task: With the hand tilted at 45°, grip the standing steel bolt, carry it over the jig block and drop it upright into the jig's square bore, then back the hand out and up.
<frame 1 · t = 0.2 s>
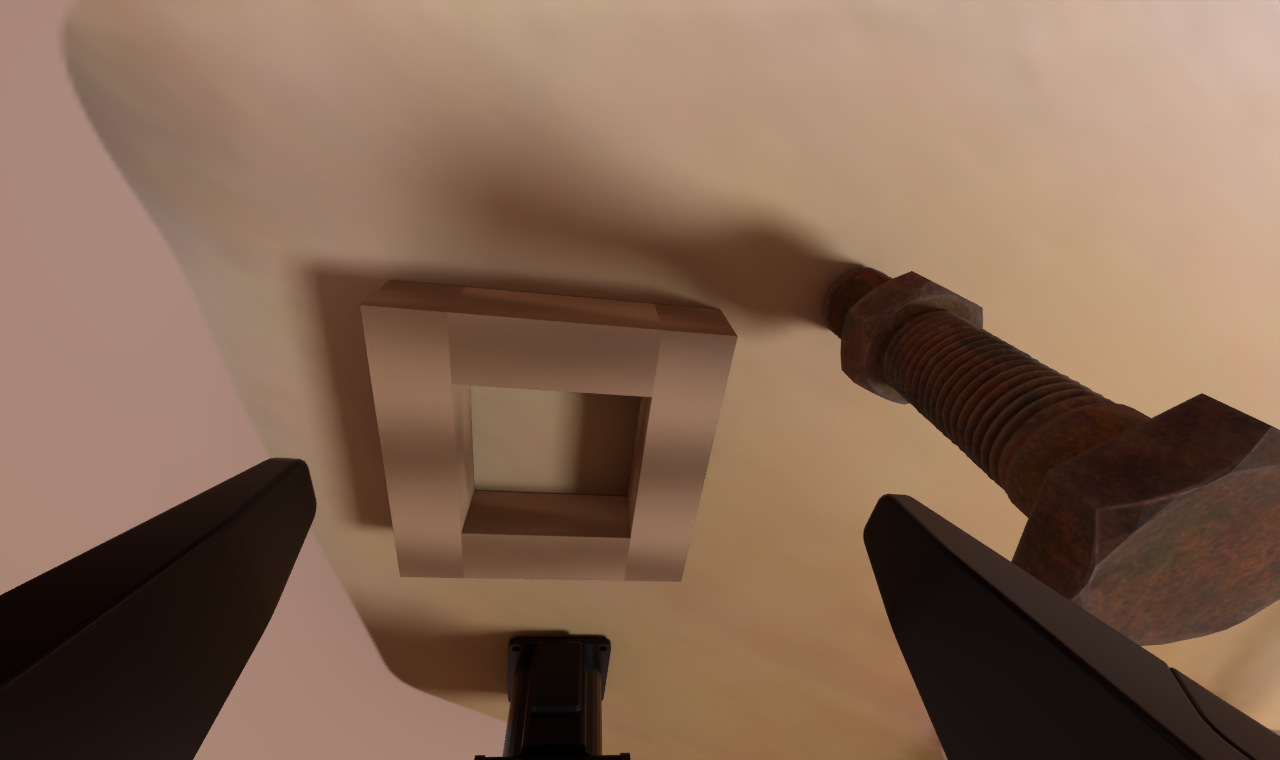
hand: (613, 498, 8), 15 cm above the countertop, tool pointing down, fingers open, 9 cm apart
bolt: (851, 298, 23), on the countertop
jig: (555, 431, 25), on the countertop
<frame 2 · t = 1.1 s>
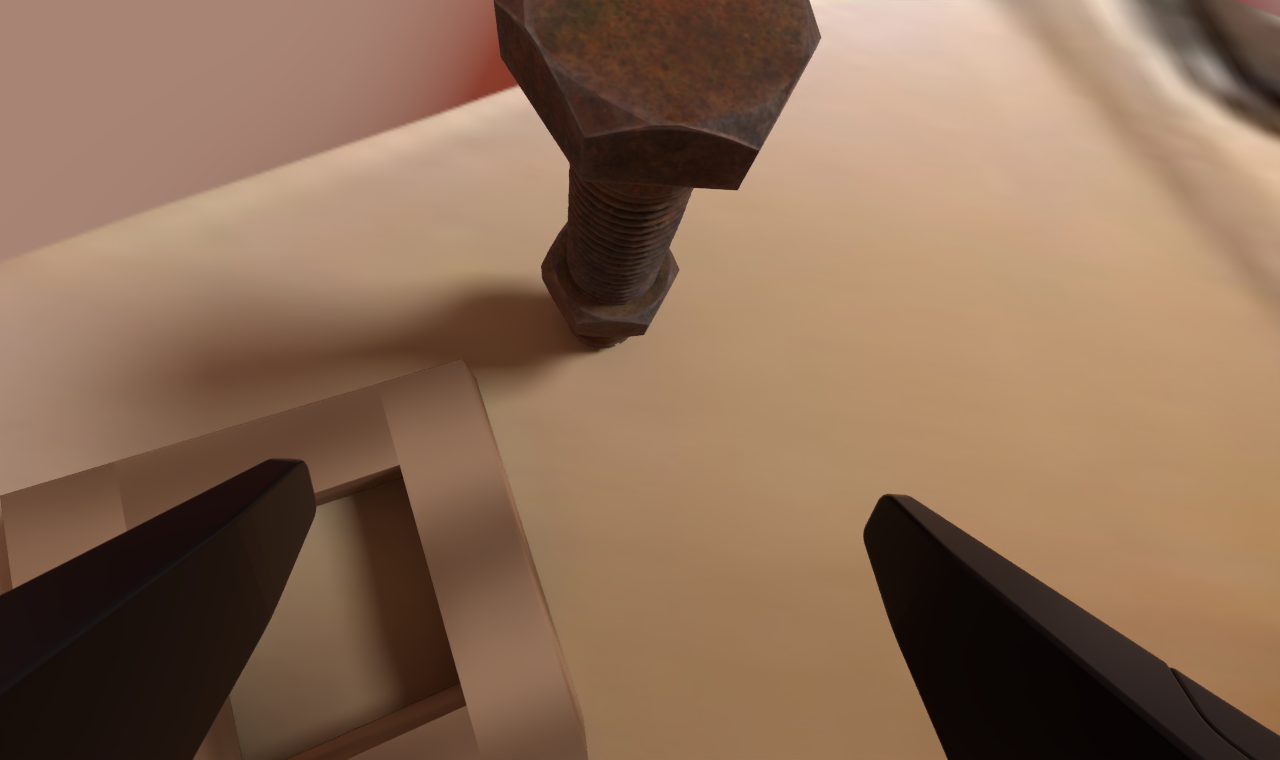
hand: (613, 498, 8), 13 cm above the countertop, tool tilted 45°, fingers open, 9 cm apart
bolt: (600, 319, 23), on the countertop
jig: (341, 610, 18), on the countertop
when the fingers open (8 cm above the countertop, at t = 8.8 s): bolt stays where it is, resting in jig.
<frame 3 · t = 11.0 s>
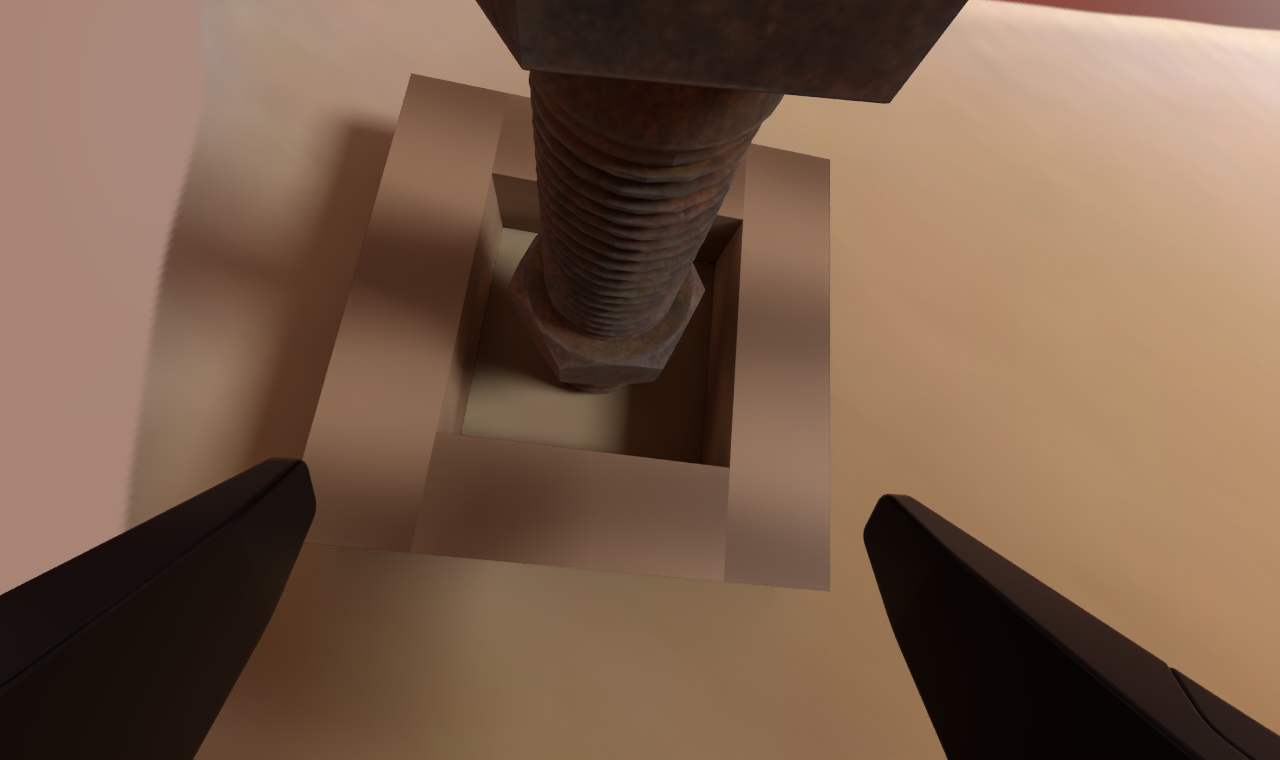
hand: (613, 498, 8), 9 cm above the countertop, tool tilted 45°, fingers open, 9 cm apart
bolt: (596, 354, 18), resting in jig
jig: (598, 346, 17), on the countertop
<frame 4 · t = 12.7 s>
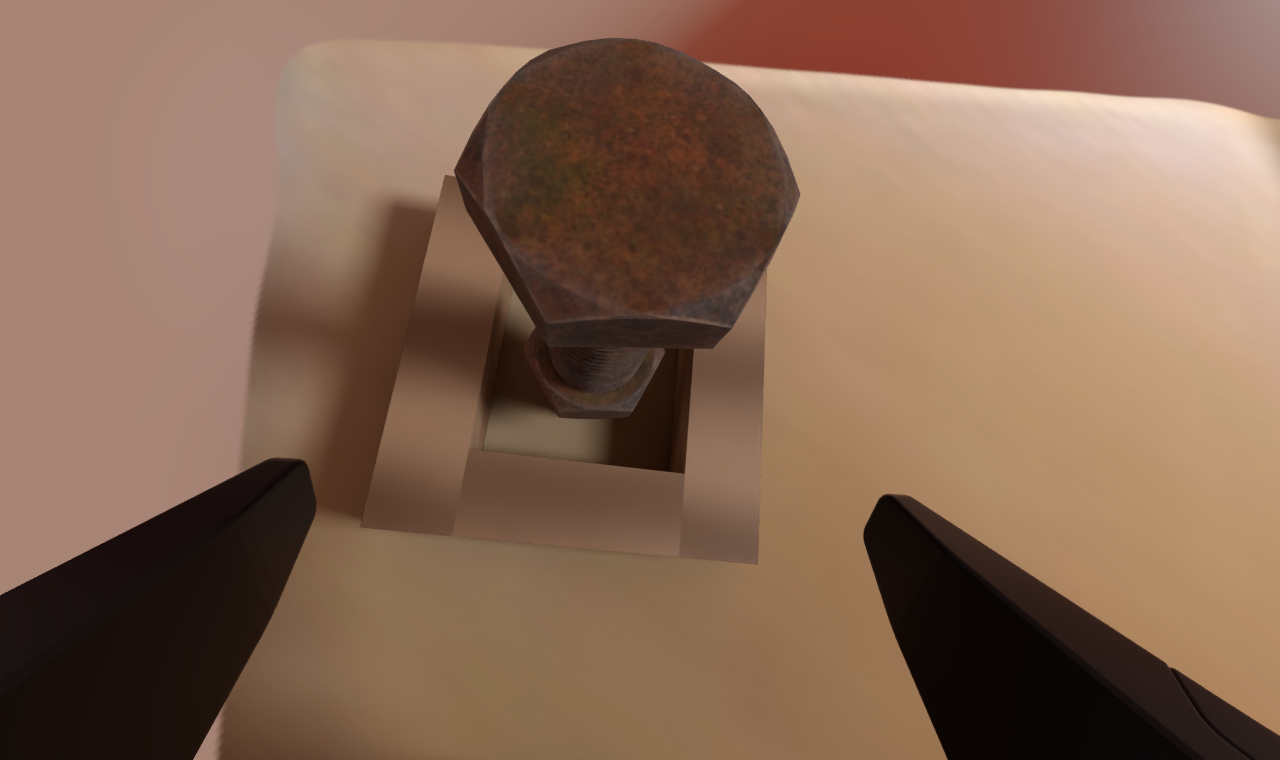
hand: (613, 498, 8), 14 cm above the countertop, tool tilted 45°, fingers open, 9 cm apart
bolt: (587, 385, 22), resting in jig
jig: (588, 379, 22), on the countertop
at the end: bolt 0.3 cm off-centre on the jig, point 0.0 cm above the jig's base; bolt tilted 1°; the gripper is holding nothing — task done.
